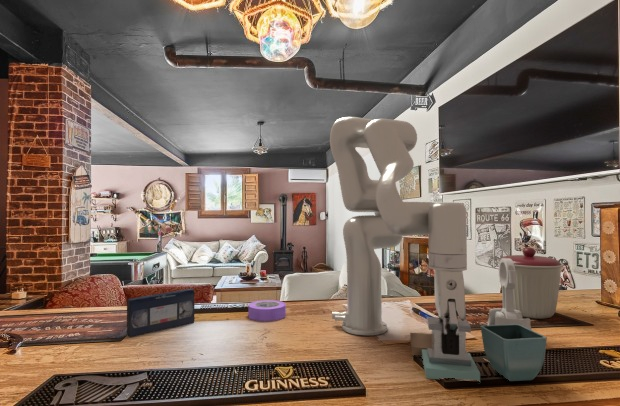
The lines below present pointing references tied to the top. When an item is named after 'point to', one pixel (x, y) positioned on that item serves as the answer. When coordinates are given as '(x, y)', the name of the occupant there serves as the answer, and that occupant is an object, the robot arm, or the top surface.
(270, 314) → the masking tape
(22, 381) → the top surface
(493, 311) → the engine component
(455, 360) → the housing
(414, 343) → the stand
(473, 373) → the stand
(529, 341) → the flower pot
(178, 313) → the vhs cassette tape
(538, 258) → the canister
